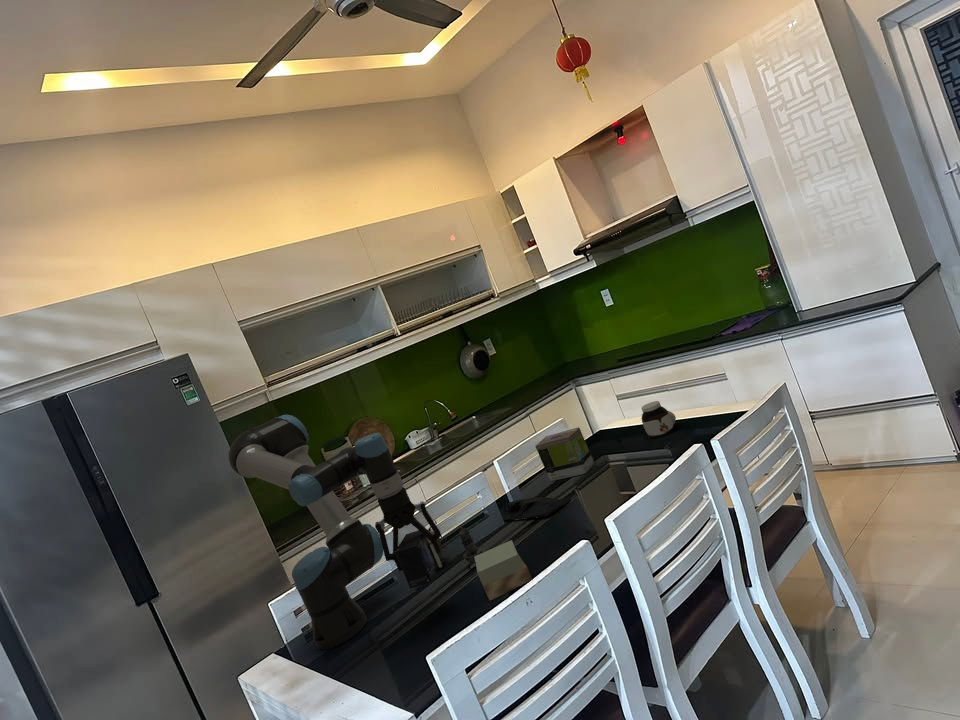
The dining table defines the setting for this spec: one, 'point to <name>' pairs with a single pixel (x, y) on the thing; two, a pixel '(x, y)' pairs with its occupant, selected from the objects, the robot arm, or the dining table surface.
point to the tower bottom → (508, 582)
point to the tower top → (498, 563)
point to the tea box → (565, 454)
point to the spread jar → (657, 419)
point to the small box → (416, 559)
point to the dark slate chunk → (534, 507)
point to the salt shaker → (469, 546)
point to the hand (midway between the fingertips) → (424, 572)
